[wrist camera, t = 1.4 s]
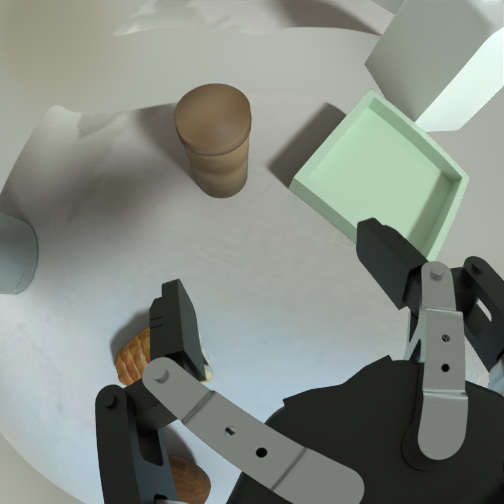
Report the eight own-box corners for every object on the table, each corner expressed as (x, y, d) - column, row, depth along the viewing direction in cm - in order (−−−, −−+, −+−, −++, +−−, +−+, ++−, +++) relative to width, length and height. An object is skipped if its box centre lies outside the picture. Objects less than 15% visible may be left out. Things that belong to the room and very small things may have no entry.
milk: (457, 130, 30) (566, 34, 4) (404, 133, 29) (530, -5, 4) (420, 67, 32) (495, -38, 6) (364, 64, 31) (435, -77, 5)
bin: (288, 188, 28) (293, 177, 25) (362, 102, 30) (370, 88, 27) (404, 288, 27) (420, 287, 24) (455, 185, 29) (469, 178, 26)
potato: (140, 485, 23) (119, 523, 15) (154, 427, 24) (128, 465, 16) (199, 505, 22) (191, 548, 15) (221, 450, 24) (216, 495, 16)
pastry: (136, 399, 25) (123, 412, 21) (110, 339, 25) (93, 344, 22) (219, 374, 25) (216, 386, 22) (192, 309, 26) (184, 312, 22)
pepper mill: (185, 178, 28) (157, 118, 17) (219, 143, 28) (210, 72, 17) (224, 209, 27) (214, 158, 16) (258, 171, 28) (268, 106, 17)
